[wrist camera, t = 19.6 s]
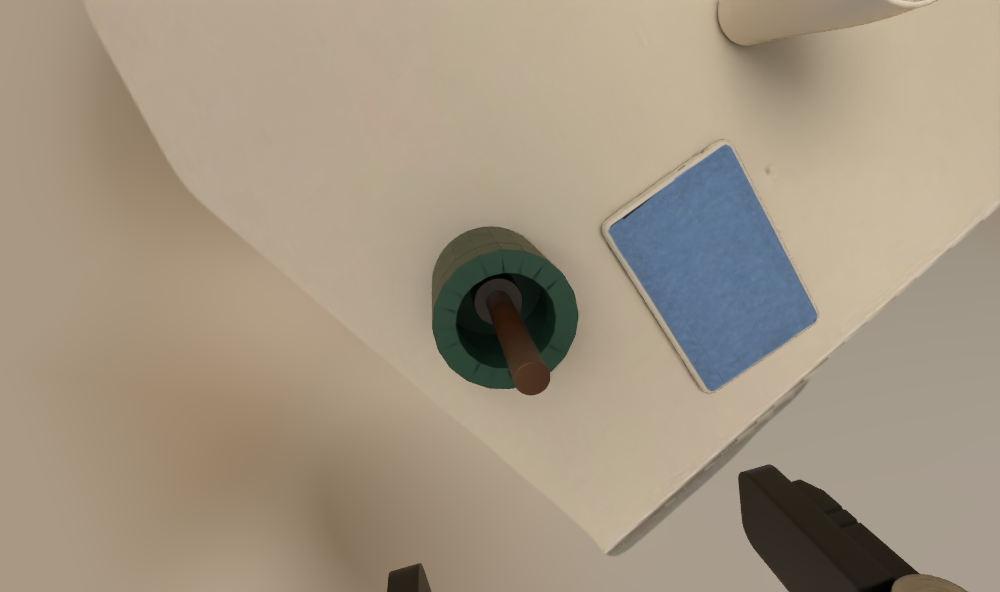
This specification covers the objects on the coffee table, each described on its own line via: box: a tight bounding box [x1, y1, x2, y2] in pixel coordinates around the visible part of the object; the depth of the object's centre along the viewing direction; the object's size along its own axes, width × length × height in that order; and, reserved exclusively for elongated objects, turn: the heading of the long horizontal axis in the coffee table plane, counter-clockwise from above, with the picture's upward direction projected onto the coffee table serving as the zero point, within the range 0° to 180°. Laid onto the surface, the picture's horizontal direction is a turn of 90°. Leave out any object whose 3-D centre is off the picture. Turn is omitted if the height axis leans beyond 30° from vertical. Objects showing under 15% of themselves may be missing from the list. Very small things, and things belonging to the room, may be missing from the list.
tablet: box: [601, 139, 819, 393], centre depth 45 cm, size 19×13×1 cm, turn 35°
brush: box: [470, 273, 550, 395], centre depth 34 cm, size 4×4×18 cm
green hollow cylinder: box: [432, 227, 578, 389], centre depth 38 cm, size 9×9×10 cm
